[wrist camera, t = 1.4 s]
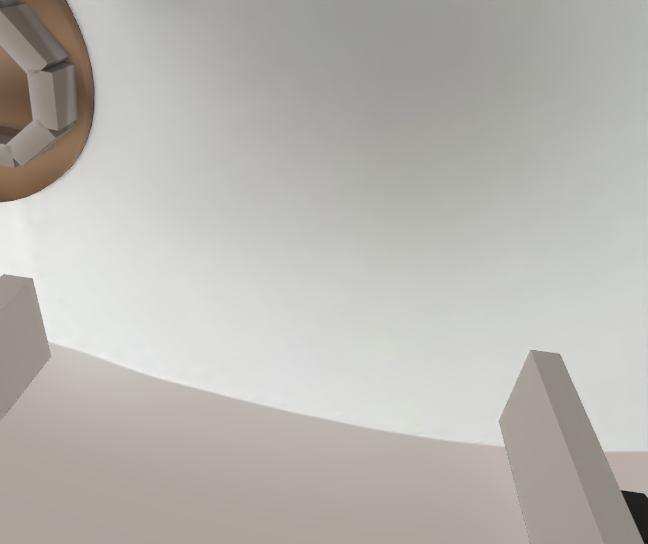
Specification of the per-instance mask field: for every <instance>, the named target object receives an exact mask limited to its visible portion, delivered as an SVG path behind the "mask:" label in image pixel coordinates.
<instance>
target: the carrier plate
mask: <svg viewBox="0 0 648 544" xmlns="http://www.w3.org/2000/svg"><path fill="white" fill-rule="evenodd" d="M93 111H94V85H93V77H92V69H91V65H90V61H89V57H88V52H87V48H86V46H85V43H84V40H83V37H82V34H81V32H80V29H79V26H78V24H77V22H76V20H75V18H74V16H73V14H72V12H71V10H70V8H69V6H68V4H67V2H66V0H0V202H7V201H14V200H18V199H21V198H25V197H28V196H30V195H32V194H35V193H37V192H39V191H41V190H42V189H44V188H45V187H47V186H48V185H50V184H51V183H53V182H54V181H55V180H57V179H58V178H59V177H61V176H62V175H63V174H64V173H65V172H66V171H67V170H68V169H69V168H70V167H71V166H72V165H73V163H74V162H75V161H76V159H77V158H78V157H79V155H80V154H81V151H82V149H83V147H84V145H85V143H86V141H87V138H88V135H89V132H90V128H91V125H92V118H93Z"/></svg>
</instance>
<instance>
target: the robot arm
mask: <svg viewBox="0 0 648 544" xmlns="http://www.w3.org/2000/svg"><path fill="white" fill-rule="evenodd" d="M50 357H51V354H50V349H49V345H48V341H47V337H46V333H45V328H44V324H43V320H42V316H41V312H40V307H39V303H38V299H37V295H36V291H35V286H34V282H33V278H26V277H19V276H12V275H5V274H4V275H3V276H1V277H0V421H1V420H2V419H3V417H4V416H5V415H6V413H7V412H8V411H9V410H10V409H11V407H12V406H13V405H14V403H15V402H16V401H17V400H18V398H19V397H20V396H21V394H22V393H23V392H24V391H25V389H26V388H27V387H28V386H29V384H30V383H31V382H32V380H33V379H34V378H35V377H36V375H37V374H38V373H39V371H40V370H41V369H42V367H43V366H44V365H45V364H46V362H47V361H48V360H49V359H50ZM499 424H500V427H501V431H502V435H503V439H504V443H505V447H506V451H507V455H508V459H509V463H510V466H511V471H512V474H513V478H514V482H515V486H516V490H517V494H518V498H519V502H520V506H521V509H522V513H523V517H524V521H525V525H526V529H527V533H528V537H529V541H530V544H648V498H647V497H646V495H645V494H643V493H636V492H629V491H622V490H620V488H619V486H618V484H617V481H616V479H615V477H614V475H613V472H612V470H611V468H610V466H609V463H608V461H607V459H606V457H605V454H604V452H603V450H602V448H601V445H600V443H599V441H598V439H597V436H596V434H595V432H594V430H593V427H592V425H591V423H590V421H589V418H588V416H587V414H586V412H585V409H584V407H583V405H582V403H581V400H580V398H579V396H578V394H577V391H576V389H575V387H574V385H573V382H572V380H571V378H570V376H569V373H568V371H567V369H566V367H565V364H564V362H563V360H562V358H561V355H560V354H557V353H550V352H543V351H536V350H530V352H529V354H528V357H527V359H526V361H525V363H524V366H523V368H522V370H521V372H520V375H519V377H518V379H517V381H516V384H515V386H514V388H513V390H512V393H511V395H510V397H509V399H508V402H507V404H506V406H505V408H504V411H503V413H502V415H501V417H500V420H499Z"/></svg>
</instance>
